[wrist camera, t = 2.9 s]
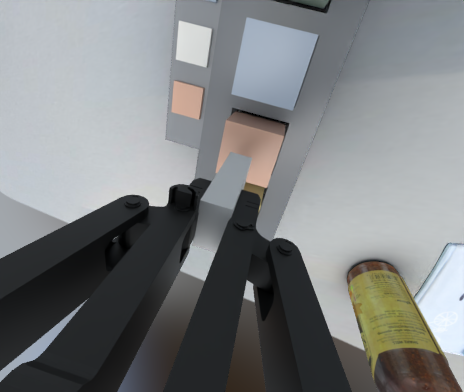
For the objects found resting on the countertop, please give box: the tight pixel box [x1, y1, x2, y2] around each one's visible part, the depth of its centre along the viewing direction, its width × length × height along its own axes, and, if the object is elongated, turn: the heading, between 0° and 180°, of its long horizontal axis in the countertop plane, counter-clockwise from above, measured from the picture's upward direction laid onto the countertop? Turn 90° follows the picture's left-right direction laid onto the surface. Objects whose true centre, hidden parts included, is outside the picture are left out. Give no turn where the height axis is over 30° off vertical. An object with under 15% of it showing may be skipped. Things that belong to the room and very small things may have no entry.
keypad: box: [165, 0, 370, 241], centre depth 21 cm, size 14×36×3 cm, turn 167°
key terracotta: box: [215, 111, 285, 188], centre depth 21 cm, size 5×5×4 cm
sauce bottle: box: [347, 261, 462, 392], centre depth 22 cm, size 7×6×20 cm
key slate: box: [231, 17, 318, 111], centre depth 18 cm, size 5×5×4 cm
